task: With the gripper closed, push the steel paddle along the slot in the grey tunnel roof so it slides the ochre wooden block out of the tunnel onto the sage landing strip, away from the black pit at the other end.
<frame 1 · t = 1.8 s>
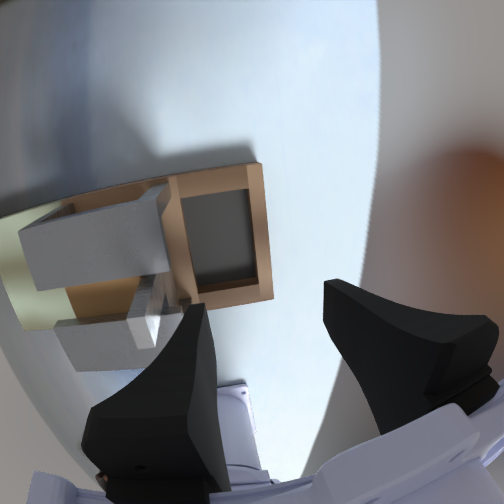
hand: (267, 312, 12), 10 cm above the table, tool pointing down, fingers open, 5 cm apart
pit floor: (220, 237, 21), resting in board
board: (130, 251, 20), on the table
paddle: (153, 285, 15), point 6 cm above the table, slide at 0.0 cm
tunnel: (116, 278, 16), on the board, point 4 cm above the table
block: (119, 260, 19), point 1 cm above the table, touching board
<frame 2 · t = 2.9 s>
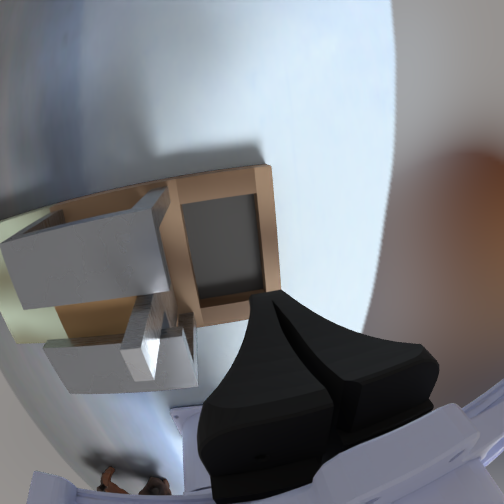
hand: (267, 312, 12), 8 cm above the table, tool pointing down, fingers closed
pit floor: (224, 246, 19), resting in board
brown headphones: (140, 475, 30), on the table
board: (126, 261, 19), on the table
paddle: (151, 303, 13), point 6 cm above the table, slide at 0.0 cm
tunnel: (109, 293, 15), on the board, point 4 cm above the table
block: (114, 272, 17), point 1 cm above the table, touching board
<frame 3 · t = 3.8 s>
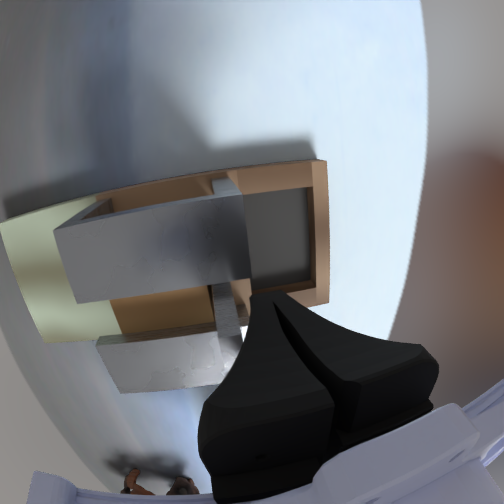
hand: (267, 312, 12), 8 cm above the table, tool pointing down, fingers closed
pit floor: (276, 238, 20), resting in board
brown headphones: (164, 476, 30), on the table
board: (175, 254, 19), on the table
paddle: (222, 293, 14), point 6 cm above the table, slide at 0.0 cm, touching gripper
tunnel: (170, 285, 15), on the board, point 4 cm above the table
block: (166, 264, 18), point 1 cm above the table, touching board
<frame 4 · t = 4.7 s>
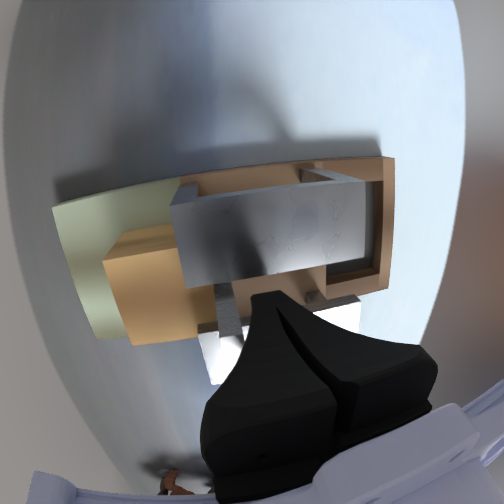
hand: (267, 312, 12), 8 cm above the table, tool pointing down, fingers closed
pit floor: (346, 227, 20), resting in board
brown headphones: (201, 475, 31), on the table
board: (253, 241, 20), on the table
paddle: (224, 293, 14), point 6 cm above the table, slide at 5.2 cm, touching gripper
tunnel: (268, 269, 16), on the board, point 4 cm above the table
block: (171, 263, 18), point 2 cm above the table
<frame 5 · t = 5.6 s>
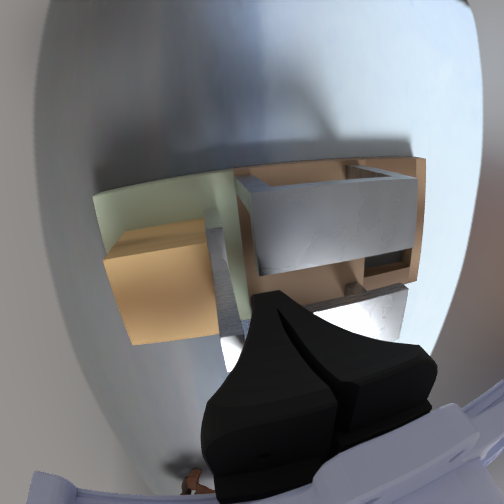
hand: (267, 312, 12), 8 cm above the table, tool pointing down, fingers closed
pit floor: (381, 223, 21), resting in board
brown headphones: (223, 473, 31), on the table
board: (297, 234, 20), on the table
paddle: (224, 293, 14), point 6 cm above the table, slide at 8.2 cm, touching block, gripper
tunnel: (322, 259, 16), on the board, point 4 cm above the table
block: (171, 263, 18), point 1 cm above the table, touching board, paddle
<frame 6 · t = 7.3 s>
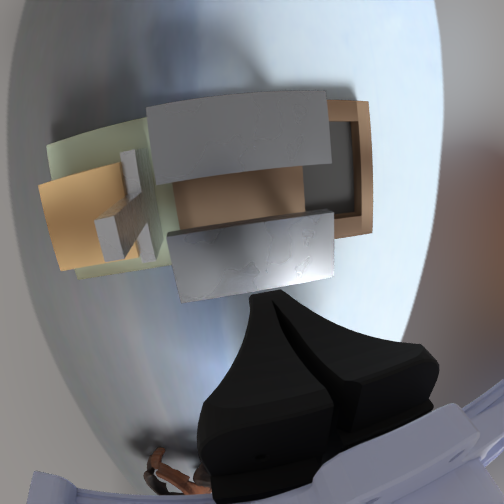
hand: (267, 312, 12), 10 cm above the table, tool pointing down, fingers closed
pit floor: (325, 168, 20), resting in board
brown headphones: (190, 455, 31), on the table
board: (233, 178, 20), on the table
paddle: (134, 211, 13), point 6 cm above the table, slide at 8.2 cm, touching block
tunnel: (241, 187, 16), on the board, point 4 cm above the table
block: (108, 203, 17), point 1 cm above the table, touching board, paddle
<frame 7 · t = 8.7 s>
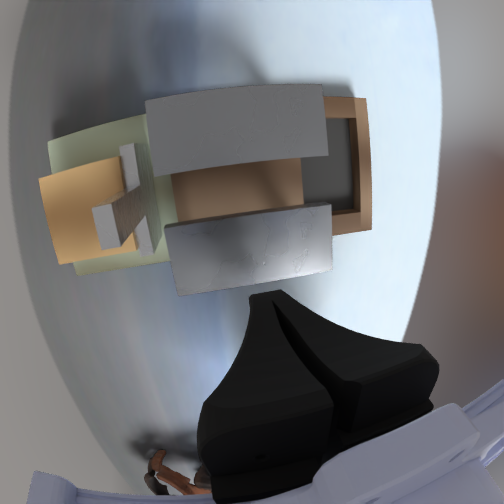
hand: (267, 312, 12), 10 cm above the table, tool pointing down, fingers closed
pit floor: (324, 165, 20), resting in board
brown headphones: (191, 458, 31), on the table
board: (231, 174, 20), on the table
paddle: (132, 204, 14), point 6 cm above the table, slide at 8.2 cm, touching block
tunnel: (239, 181, 16), on the board, point 4 cm above the table
block: (108, 198, 18), point 1 cm above the table, touching board, paddle
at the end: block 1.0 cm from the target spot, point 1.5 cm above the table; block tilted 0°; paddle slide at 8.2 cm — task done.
